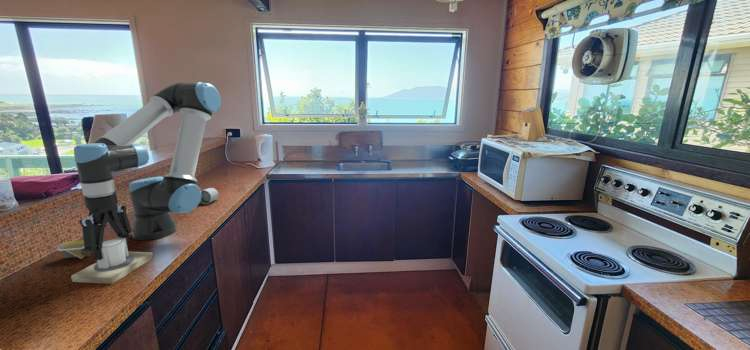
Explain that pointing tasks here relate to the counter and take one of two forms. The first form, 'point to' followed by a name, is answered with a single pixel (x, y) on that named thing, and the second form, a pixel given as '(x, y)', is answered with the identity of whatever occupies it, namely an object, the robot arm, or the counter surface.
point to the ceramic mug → (208, 195)
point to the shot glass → (115, 251)
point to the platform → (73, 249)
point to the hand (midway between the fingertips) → (114, 261)
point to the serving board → (112, 269)
